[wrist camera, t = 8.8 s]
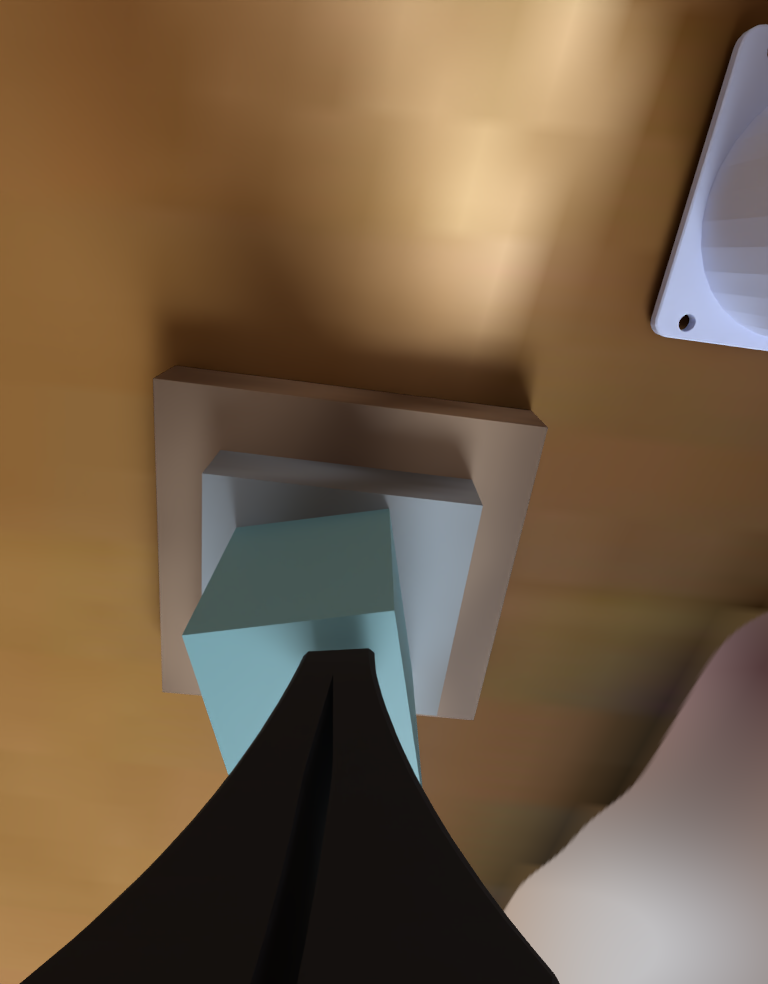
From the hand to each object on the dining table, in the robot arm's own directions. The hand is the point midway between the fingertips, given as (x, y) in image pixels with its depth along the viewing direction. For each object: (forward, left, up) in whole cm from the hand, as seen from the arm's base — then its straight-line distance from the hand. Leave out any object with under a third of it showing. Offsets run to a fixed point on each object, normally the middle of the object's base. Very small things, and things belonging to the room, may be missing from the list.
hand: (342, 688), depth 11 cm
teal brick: (+1, +2, -6) cm, 6 cm away
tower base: (0, +2, -10) cm, 10 cm away
